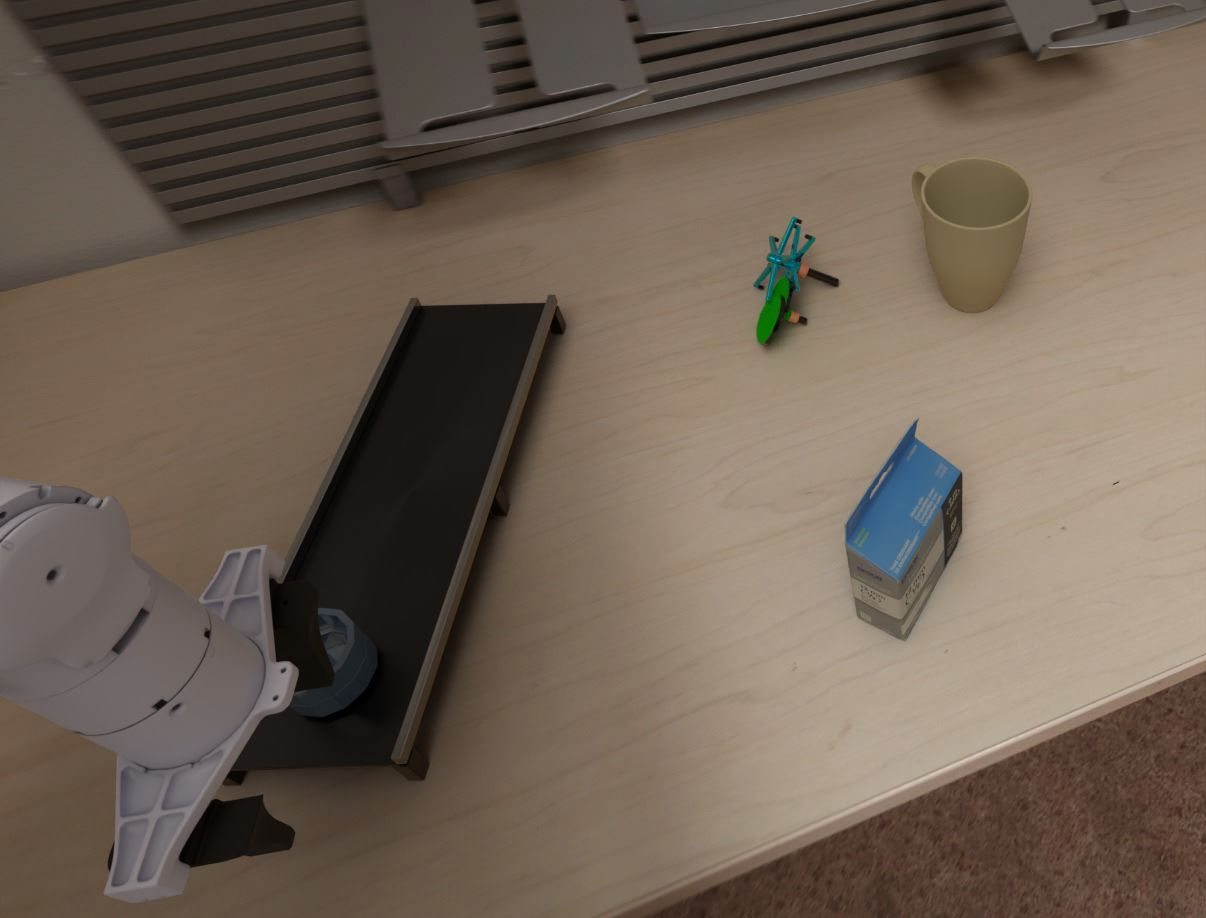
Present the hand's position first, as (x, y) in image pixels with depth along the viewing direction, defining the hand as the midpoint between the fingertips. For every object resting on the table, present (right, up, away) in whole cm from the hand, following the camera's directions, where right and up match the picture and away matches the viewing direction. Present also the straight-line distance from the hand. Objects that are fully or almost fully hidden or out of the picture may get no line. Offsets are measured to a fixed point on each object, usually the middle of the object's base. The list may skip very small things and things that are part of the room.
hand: (294, 759), depth 48 cm
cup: (-3, 0, +9) cm, 10 cm away
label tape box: (+32, +4, +17) cm, 36 cm away
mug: (+37, +23, +36) cm, 56 cm away
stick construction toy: (+22, +21, +35) cm, 47 cm away
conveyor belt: (-4, +7, +21) cm, 22 cm away
